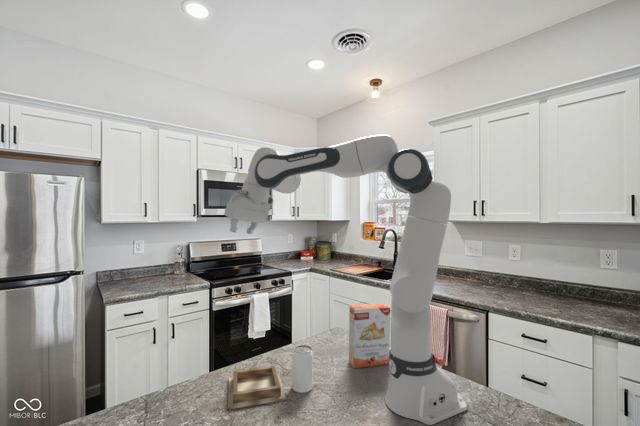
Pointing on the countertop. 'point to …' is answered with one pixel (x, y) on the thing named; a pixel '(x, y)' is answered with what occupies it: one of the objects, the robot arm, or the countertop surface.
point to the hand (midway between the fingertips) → (241, 232)
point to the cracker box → (369, 335)
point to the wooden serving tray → (255, 387)
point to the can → (302, 369)
